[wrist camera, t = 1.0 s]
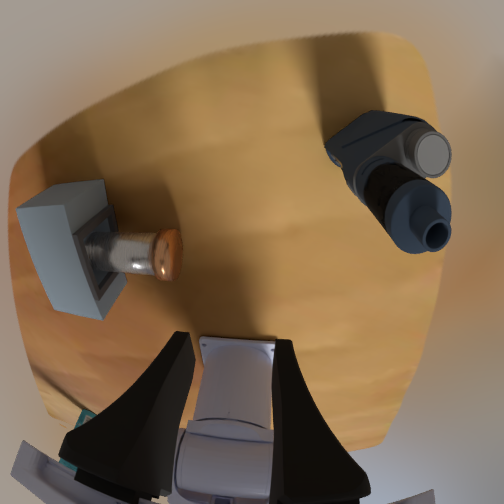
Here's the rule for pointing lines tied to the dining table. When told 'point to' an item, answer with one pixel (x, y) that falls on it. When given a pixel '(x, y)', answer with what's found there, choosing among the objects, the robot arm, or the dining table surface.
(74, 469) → the tube
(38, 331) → the dining table surface
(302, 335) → the dining table surface
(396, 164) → the vaping device
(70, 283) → the sleeve block
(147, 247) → the peg
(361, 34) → the dining table surface
